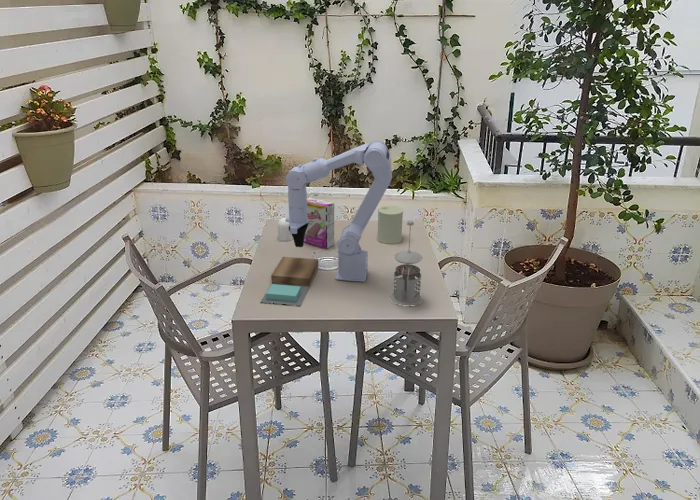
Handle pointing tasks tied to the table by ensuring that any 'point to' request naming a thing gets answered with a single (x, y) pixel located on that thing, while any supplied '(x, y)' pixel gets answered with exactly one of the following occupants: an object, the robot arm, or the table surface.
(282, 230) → the white domed cylinder
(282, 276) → the deck
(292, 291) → the teal rectangular block
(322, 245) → the candy bar box
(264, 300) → the mat
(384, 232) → the can
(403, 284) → the french press
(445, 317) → the table surface
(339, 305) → the table surface
